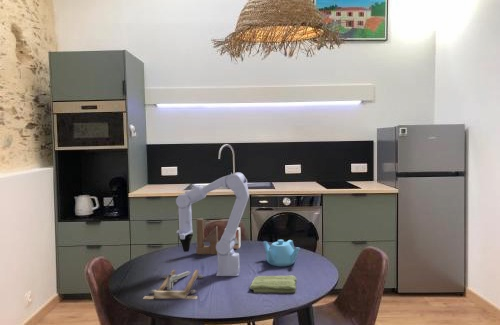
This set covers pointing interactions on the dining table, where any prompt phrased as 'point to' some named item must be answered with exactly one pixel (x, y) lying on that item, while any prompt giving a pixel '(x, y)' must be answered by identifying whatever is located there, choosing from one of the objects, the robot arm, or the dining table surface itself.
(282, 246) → the teapot
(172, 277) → the caliper
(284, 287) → the washcloth
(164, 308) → the dining table surface
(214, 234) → the brown wooden frame
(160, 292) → the rails
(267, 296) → the dining table surface
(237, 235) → the small box
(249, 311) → the dining table surface
